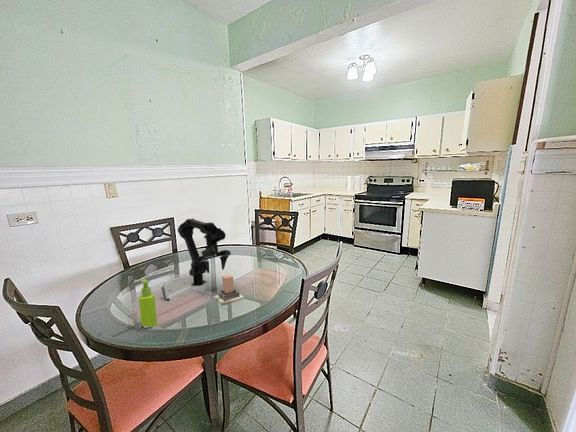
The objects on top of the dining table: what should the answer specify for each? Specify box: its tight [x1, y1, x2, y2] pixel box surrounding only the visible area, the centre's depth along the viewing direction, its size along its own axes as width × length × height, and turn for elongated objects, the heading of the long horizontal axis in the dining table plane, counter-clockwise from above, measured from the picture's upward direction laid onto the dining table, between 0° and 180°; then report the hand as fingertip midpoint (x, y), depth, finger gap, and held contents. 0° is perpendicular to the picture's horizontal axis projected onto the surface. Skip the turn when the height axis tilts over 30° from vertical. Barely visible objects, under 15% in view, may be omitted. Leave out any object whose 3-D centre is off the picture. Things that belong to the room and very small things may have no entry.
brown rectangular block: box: [221, 274, 235, 295], centre depth 132 cm, size 4×4×11 cm
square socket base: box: [213, 288, 245, 306], centre depth 133 cm, size 12×12×4 cm
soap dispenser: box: [138, 278, 158, 327], centre depth 108 cm, size 6×7×20 cm
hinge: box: [160, 276, 193, 302], centre depth 140 cm, size 17×5×10 cm, turn 158°
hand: (215, 271), depth 139 cm, fingers open, 9 cm apart
